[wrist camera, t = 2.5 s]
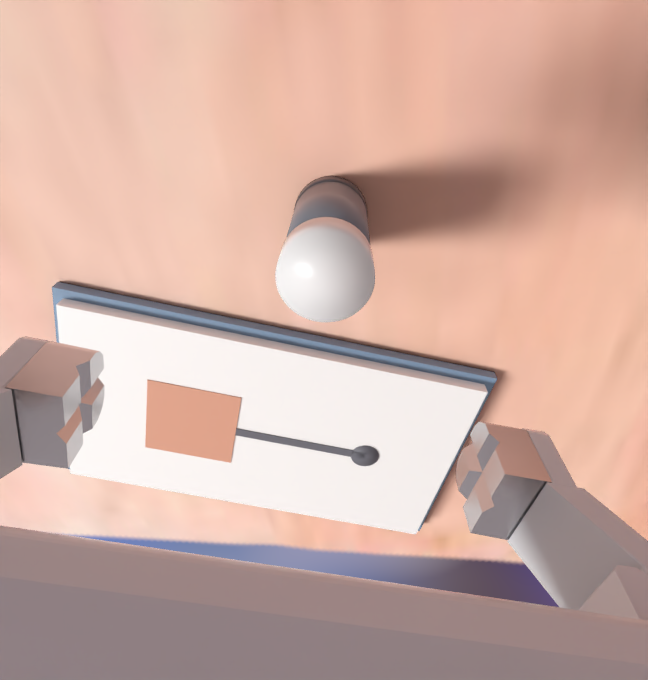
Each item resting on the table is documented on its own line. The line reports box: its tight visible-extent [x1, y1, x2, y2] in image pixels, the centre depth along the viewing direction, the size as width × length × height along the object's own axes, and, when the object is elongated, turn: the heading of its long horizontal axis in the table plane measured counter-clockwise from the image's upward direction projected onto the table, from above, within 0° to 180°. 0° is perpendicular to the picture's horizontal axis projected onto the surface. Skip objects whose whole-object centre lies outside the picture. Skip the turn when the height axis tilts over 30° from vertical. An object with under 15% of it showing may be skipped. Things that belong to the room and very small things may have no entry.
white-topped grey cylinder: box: [275, 176, 375, 322], centre depth 19 cm, size 3×3×7 cm
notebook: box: [52, 282, 497, 534], centre depth 28 cm, size 23×13×1 cm, turn 78°
